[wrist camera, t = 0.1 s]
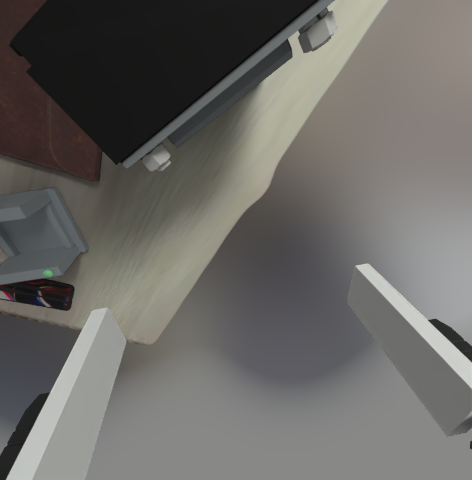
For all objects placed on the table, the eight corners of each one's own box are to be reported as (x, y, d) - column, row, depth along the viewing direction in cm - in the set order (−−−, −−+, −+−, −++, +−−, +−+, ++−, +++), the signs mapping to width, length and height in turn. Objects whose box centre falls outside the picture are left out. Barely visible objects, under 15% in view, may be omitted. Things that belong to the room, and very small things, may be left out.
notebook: (-23, 142, 31) (-36, 145, 29) (-52, -67, 22) (-72, -80, 20) (100, 178, 35) (96, 182, 33) (117, 16, 27) (112, 10, 25)
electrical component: (170, 145, 34) (140, 190, 17) (113, 73, 29) (-13, 33, 12) (272, 62, 30) (367, 14, 13) (228, -35, 25) (289, -314, 8)
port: (-29, 198, 34) (-81, 221, 27) (57, 187, 34) (25, 206, 28) (16, 259, 39) (-19, 289, 33) (88, 248, 40) (68, 275, 34)
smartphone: (69, 311, 47) (-25, 295, 41) (71, 309, 47) (-22, 292, 42) (74, 286, 44) (-27, 264, 38) (76, 283, 44) (-24, 262, 39)
